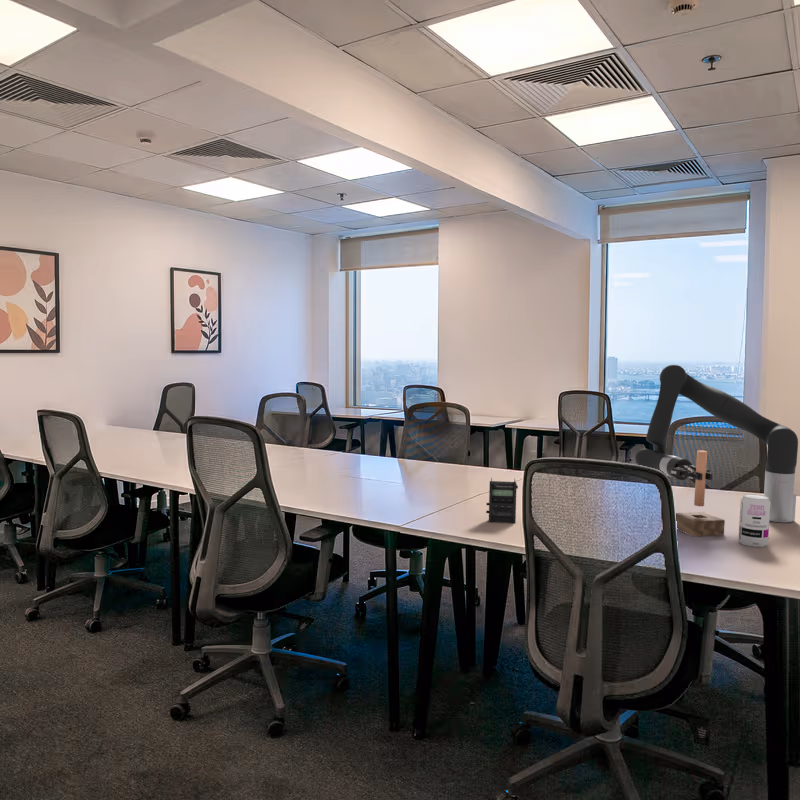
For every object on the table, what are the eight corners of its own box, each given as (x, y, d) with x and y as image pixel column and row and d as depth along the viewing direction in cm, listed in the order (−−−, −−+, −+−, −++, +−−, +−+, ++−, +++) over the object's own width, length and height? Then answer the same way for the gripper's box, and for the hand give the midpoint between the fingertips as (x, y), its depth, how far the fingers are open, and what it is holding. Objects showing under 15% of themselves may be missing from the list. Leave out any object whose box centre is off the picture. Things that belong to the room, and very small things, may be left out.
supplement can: (755, 539, 222) (758, 493, 220) (773, 547, 214) (776, 499, 212) (732, 540, 220) (735, 493, 219) (750, 548, 212) (752, 499, 211)
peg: (700, 504, 232) (703, 450, 231) (705, 506, 229) (709, 451, 228) (692, 504, 232) (695, 450, 230) (697, 506, 229) (700, 452, 227)
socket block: (703, 526, 237) (703, 511, 237) (723, 535, 227) (724, 520, 226) (673, 527, 235) (674, 513, 235) (693, 536, 225) (694, 521, 224)
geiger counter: (485, 522, 238) (486, 479, 237) (486, 519, 243) (487, 476, 241) (516, 524, 237) (518, 480, 236) (516, 521, 241) (517, 478, 240)
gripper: (657, 457, 242) (687, 465, 225) (694, 456, 245) (726, 465, 228) (656, 478, 242) (686, 488, 226) (693, 477, 245) (725, 487, 228)
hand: (706, 476), depth 227 cm, fingers closed on peg, 3 cm apart
